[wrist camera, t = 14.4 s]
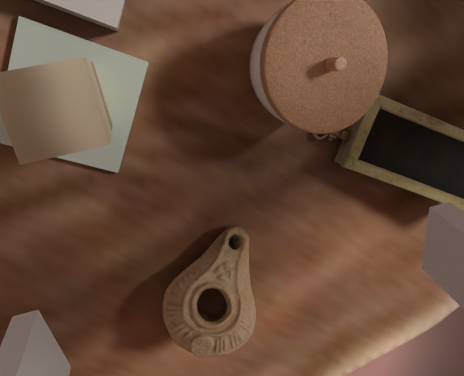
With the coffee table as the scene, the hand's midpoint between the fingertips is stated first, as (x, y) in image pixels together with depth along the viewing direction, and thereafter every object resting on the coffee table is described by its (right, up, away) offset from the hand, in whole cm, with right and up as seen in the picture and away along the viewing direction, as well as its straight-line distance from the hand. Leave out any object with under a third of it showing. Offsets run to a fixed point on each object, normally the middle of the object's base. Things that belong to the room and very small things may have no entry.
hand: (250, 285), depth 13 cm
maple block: (-14, +11, +18) cm, 25 cm away
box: (+18, +8, +30) cm, 36 cm away
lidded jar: (+5, +15, +24) cm, 28 cm away
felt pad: (-14, +11, +19) cm, 26 cm away
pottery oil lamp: (-3, -6, +27) cm, 28 cm away
